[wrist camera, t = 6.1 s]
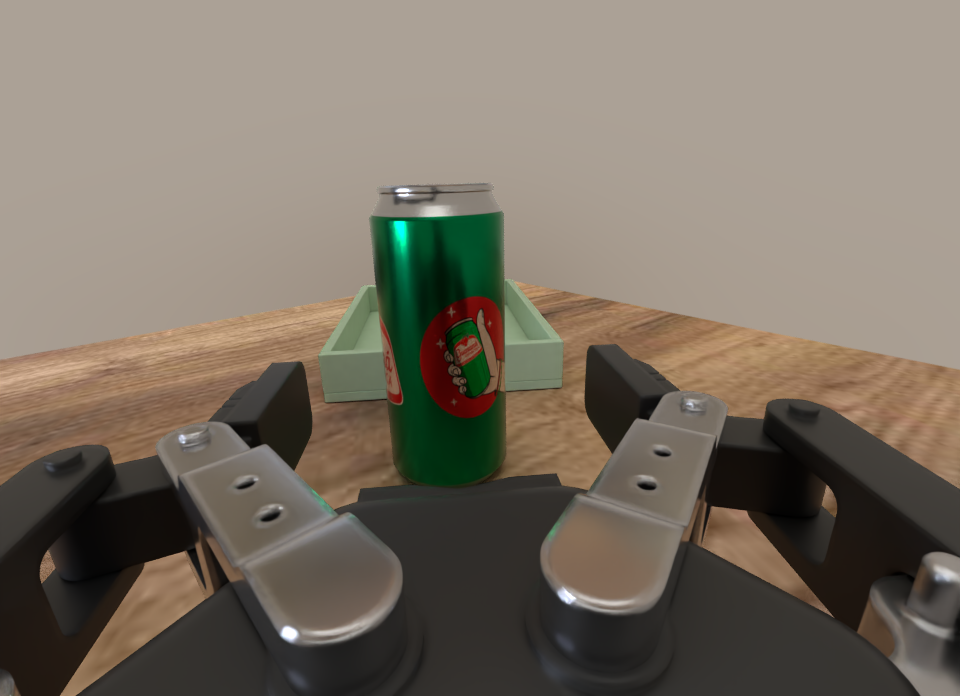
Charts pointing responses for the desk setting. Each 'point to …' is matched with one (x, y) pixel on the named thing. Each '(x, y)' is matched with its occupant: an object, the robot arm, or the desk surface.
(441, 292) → the soda can
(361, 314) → the tray
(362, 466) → the desk surface
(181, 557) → the desk surface
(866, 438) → the robot arm
